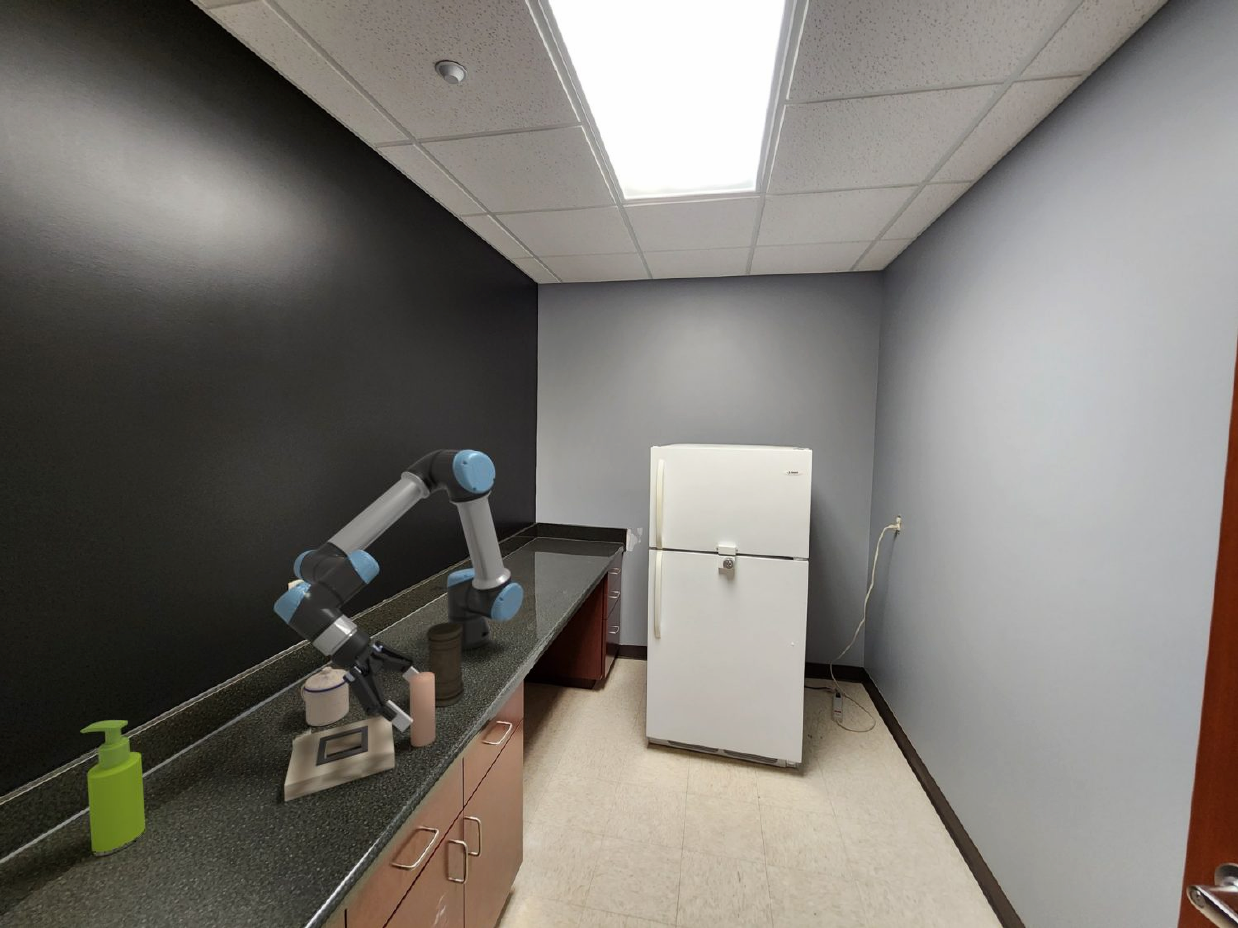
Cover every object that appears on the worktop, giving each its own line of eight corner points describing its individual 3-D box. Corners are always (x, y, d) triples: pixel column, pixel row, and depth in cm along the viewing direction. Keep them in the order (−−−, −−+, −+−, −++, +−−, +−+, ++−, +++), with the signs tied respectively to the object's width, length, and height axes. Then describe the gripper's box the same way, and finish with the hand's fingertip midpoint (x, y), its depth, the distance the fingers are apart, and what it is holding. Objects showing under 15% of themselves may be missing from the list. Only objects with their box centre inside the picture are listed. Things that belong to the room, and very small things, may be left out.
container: (452, 708, 111) (451, 637, 110) (419, 704, 113) (418, 634, 112) (471, 689, 120) (470, 622, 119) (440, 685, 122) (439, 619, 121)
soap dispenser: (111, 826, 77) (104, 713, 76) (155, 823, 78) (149, 711, 77) (73, 858, 71) (65, 736, 70) (120, 855, 72) (113, 734, 71)
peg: (433, 729, 104) (432, 669, 103) (436, 742, 99) (435, 680, 98) (409, 736, 101) (408, 675, 100) (411, 749, 97) (410, 686, 96)
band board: (390, 725, 105) (390, 711, 104) (394, 767, 92) (394, 751, 91) (295, 751, 96) (295, 736, 96) (284, 801, 83) (284, 783, 83)
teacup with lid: (359, 707, 112) (357, 661, 111) (327, 730, 103) (325, 680, 102) (319, 700, 114) (318, 655, 114) (285, 722, 106) (283, 673, 105)
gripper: (357, 630, 109) (423, 687, 111) (296, 687, 84) (383, 759, 86) (380, 607, 109) (445, 665, 112) (326, 657, 84) (412, 730, 87)
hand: (418, 706), depth 99 cm, fingers open, 13 cm apart
